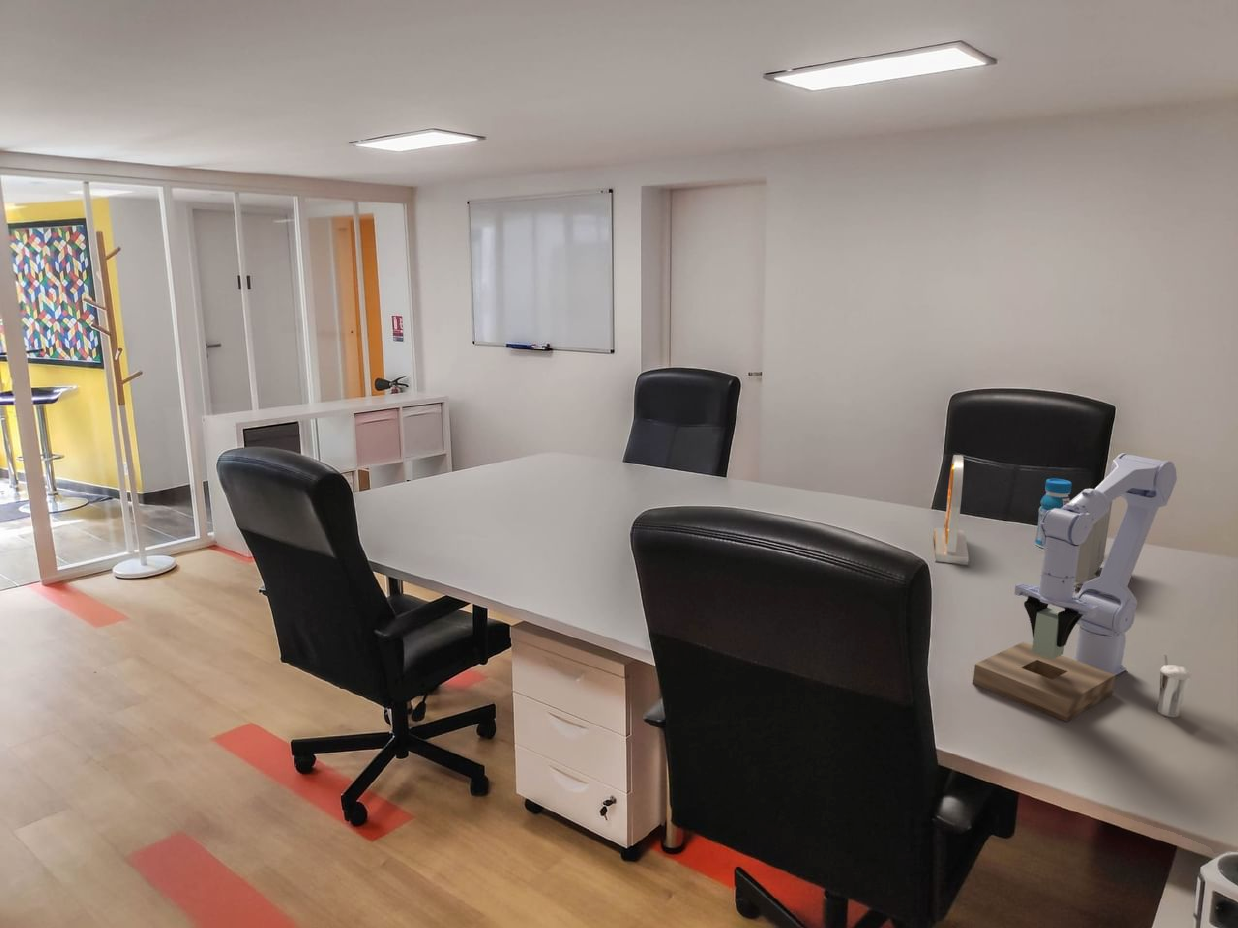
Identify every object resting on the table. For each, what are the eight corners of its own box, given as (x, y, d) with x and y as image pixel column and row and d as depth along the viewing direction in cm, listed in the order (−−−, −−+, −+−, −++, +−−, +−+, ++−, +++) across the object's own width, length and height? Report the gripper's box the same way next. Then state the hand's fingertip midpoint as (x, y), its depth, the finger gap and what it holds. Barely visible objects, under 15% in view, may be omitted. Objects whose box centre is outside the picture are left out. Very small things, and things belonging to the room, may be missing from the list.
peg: (1042, 646, 165) (1047, 607, 163) (1063, 654, 162) (1068, 614, 160) (1031, 651, 162) (1036, 612, 161) (1052, 659, 159) (1058, 619, 157)
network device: (1096, 595, 213) (1107, 518, 209) (1057, 587, 218) (1068, 512, 214) (1111, 569, 233) (1122, 498, 229) (1076, 562, 238) (1086, 493, 234)
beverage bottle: (1036, 549, 249) (1045, 482, 245) (1032, 541, 257) (1040, 476, 252) (1068, 552, 247) (1078, 485, 242) (1063, 544, 254) (1072, 479, 250)
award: (932, 533, 262) (941, 445, 256) (963, 537, 260) (973, 448, 254) (933, 561, 237) (943, 464, 231) (967, 565, 234) (978, 467, 228)
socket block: (1020, 659, 176) (1023, 641, 175) (1112, 694, 162) (1115, 674, 161) (972, 683, 165) (974, 664, 165) (1066, 722, 151) (1069, 701, 151)
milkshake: (1168, 704, 158) (1177, 655, 156) (1188, 719, 153) (1198, 668, 151) (1145, 704, 158) (1153, 655, 156) (1164, 719, 153) (1173, 668, 151)
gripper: (1009, 566, 162) (1001, 632, 165) (1088, 589, 151) (1078, 660, 153) (1028, 559, 166) (1020, 624, 169) (1106, 581, 155) (1096, 650, 158)
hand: (1049, 640), depth 161 cm, fingers closed on peg, 4 cm apart
